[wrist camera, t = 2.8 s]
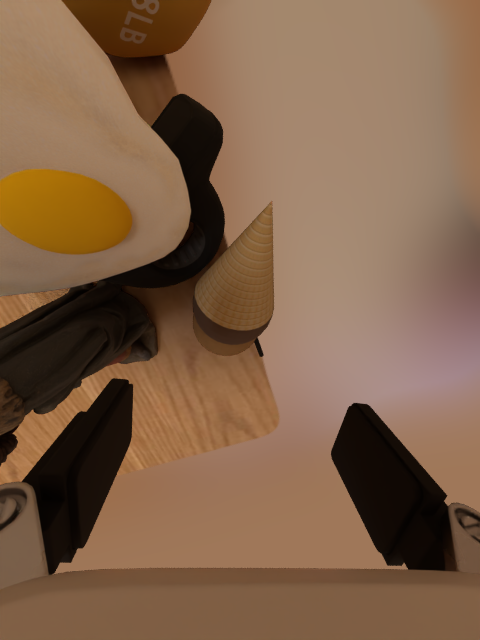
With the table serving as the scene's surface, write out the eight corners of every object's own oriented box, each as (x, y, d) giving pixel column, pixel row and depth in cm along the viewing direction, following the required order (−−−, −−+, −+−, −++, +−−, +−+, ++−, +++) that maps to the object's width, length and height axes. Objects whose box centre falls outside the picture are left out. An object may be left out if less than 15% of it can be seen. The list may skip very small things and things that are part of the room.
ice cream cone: (305, 212, 11) (281, 369, 22) (252, 170, 15) (255, 321, 26) (164, 246, 10) (214, 394, 21) (147, 191, 14) (197, 340, 25)
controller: (155, 280, 23) (22, 222, 14) (252, 179, 19) (146, 22, 11) (168, 314, 21) (21, 269, 12) (279, 208, 17) (175, 41, 9)
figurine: (94, 374, 24) (-213, 719, 7) (45, 289, 21) (-747, 543, 4) (170, 353, 24) (49, 651, 7) (133, 264, 20) (-266, 411, 4)
